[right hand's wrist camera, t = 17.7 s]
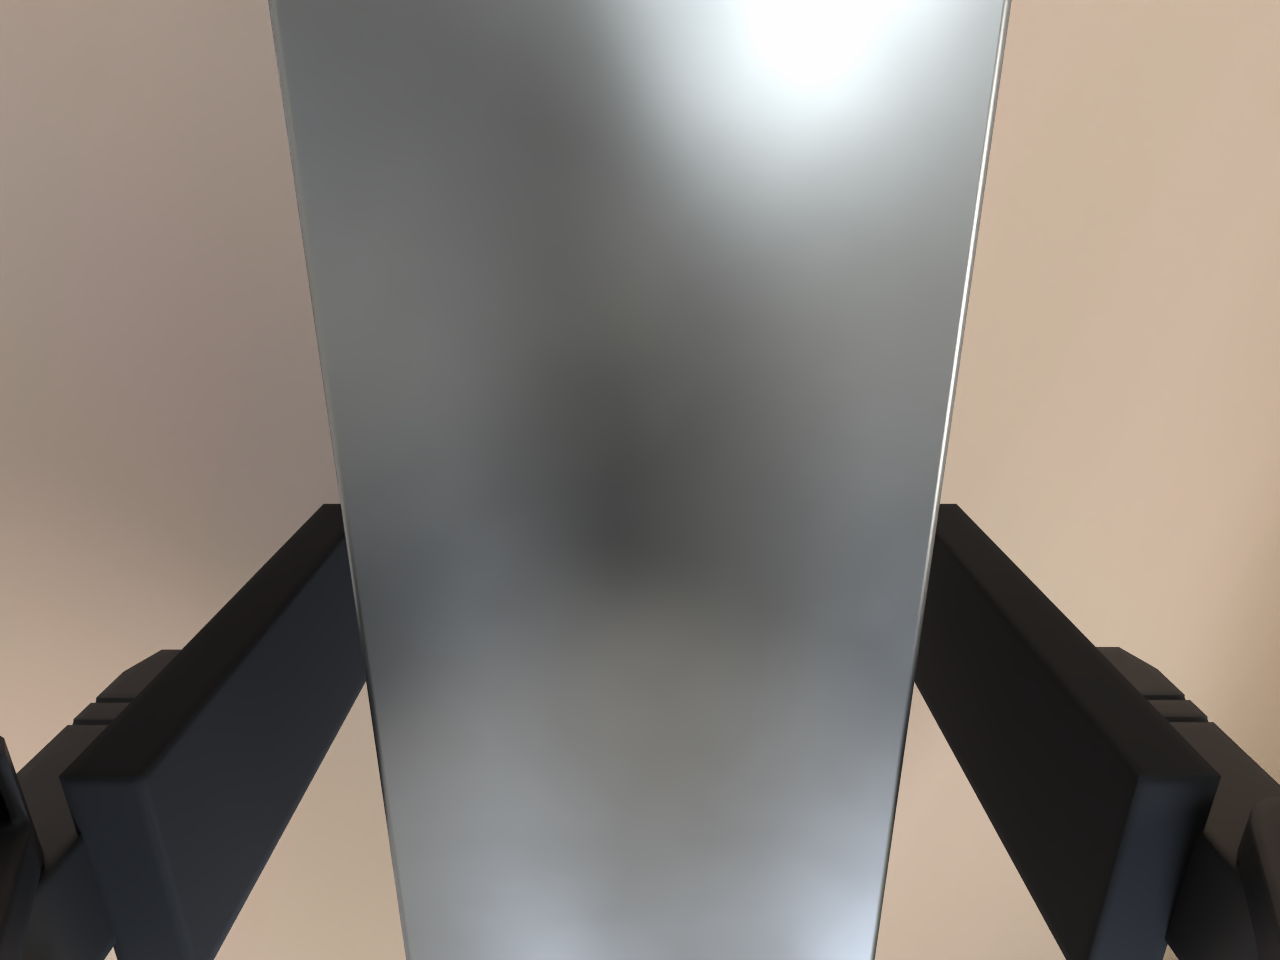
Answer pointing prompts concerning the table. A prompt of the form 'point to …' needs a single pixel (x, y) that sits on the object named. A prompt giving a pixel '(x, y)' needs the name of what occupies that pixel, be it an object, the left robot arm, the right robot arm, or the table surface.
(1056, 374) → the table surface
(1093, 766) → the right robot arm
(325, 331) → the bar
